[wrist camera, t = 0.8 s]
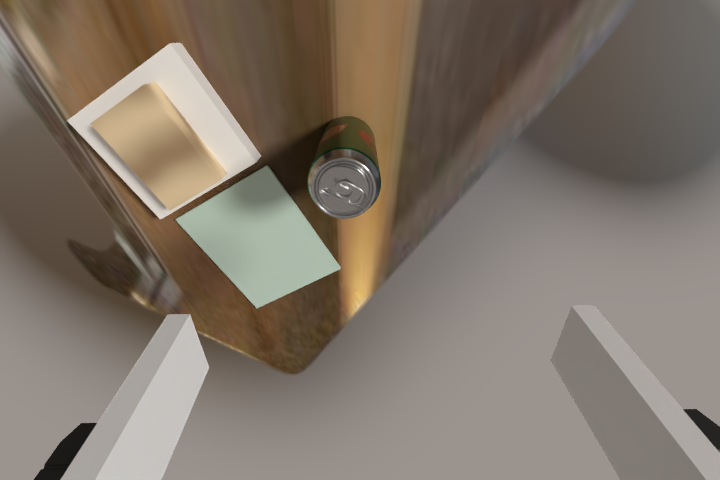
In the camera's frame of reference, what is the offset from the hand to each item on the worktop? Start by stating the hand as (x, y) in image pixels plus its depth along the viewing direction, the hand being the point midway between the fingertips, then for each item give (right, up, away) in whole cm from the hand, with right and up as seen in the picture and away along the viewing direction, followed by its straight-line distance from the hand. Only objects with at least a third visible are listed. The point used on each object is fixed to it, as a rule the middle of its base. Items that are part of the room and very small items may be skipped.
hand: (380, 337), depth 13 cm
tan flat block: (-18, +12, +19) cm, 29 cm away
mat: (-12, +3, +27) cm, 29 cm away
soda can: (-2, +13, +21) cm, 25 cm away
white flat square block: (-18, +13, +21) cm, 31 cm away
